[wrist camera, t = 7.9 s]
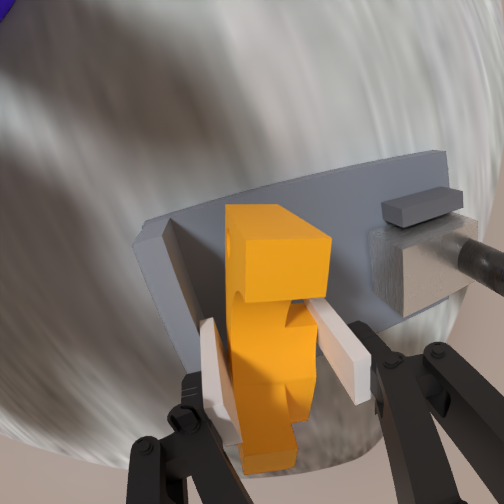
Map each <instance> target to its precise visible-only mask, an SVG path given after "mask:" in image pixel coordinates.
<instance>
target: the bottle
mask: <svg viewBox="0 0 504 504" xmlns="http://www.w3.org/2000/svg"><path fill="white" fill-rule="evenodd" d="M14 1H15V0H0V21H1V20H2V19H3V18H4V16H5V15H6V14H7V12H8V11H9V10H10V8H11V6H12V5H13V3H14Z"/></svg>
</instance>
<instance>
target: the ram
mask: <svg viewBox="0 0 504 504" xmlns="http://www.w3.org/2000/svg"><path fill="white" fill-rule="evenodd" d="M477 239H478V221H477V220H474V219H472V218H469V217H466V216H463V215H460V214H457V213H454V212H449V213H446V214H443V215H440V216H437V217H434V218H431V219H428V220H425V221H422V222H419V223H416V224H413V225H410V226H407V227H404V228H402V227H400V226H398V225H395V224H390V225H387V226H384V227H381V228H377V229H374V230H371V231H368V240H369V249H370V260H371V272H372V286H373V292H374V293H375V294H376V295H378V296H379V297H380V298H381V299H382V300H383V301H385V302H386V303H387V304H388V305H389V306H390V307H392V308H393V309H394V310H395V311H396V312H397V313H398V314H400V315H401V316H402V317H403V318H404V317H406V316H408V315H410V314H412V313H415V312H417V311H419V310H421V309H423V308H425V307H427V306H429V305H431V304H433V303H435V302H437V301H439V300H441V299H443V298H445V297H447V296H449V295H450V294H452V293H454V292H456V291H458V290H460V289H462V288H463V287H465V286H467V285H469V284H471V283H472V282H474V281H475V280H476V281H478V282H479V283H481V284H483V285H485V286H486V287H488V288H490V289H491V290H493V291H495V292H496V293H498V294H500V295H501V296H503V297H504V253H503V252H501V251H499V250H497V249H494V248H492V247H490V246H487V245H485V244H483V243H481V242H478V241H477Z"/></svg>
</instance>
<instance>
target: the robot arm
mask: <svg viewBox="0 0 504 504" xmlns="http://www.w3.org/2000/svg"><path fill="white" fill-rule="evenodd" d="M303 300H304V305H305V306H306V308H307V309H308V311H309V312H310V314H311V315H312V317H313V318H314V319H315V321H316V322H317V324H318V330H317V338H316V342H317V344H318V345H319V347H320V349H321V350H322V352H323V353H324V355H325V357H326V358H327V360H328V362H329V363H330V365H331V367H332V368H333V370H334V371H335V373H336V375H337V376H338V378H339V380H340V381H341V383H342V385H343V386H344V388H345V390H346V391H347V393H348V394H349V396H350V398H351V399H352V401H353V403H354V404H355V406H356V405H358V404H360V403H363V402H365V401H367V400H370V399H371V392H372V393H373V395H374V396H375V415H376V414H377V413H378V417H379V420H380V424H381V428H382V432H383V436H384V440H385V444H386V449H387V453H388V457H389V461H390V466H391V471H392V476H393V480H394V485H395V490H396V495H397V501H398V504H468V503H467V502H466V501H463V500H461V498H460V496H459V493H458V490H457V487H456V483H455V480H454V477H453V474H452V471H451V468H450V465H449V462H448V459H447V456H446V453H445V451H444V448H443V445H442V442H441V440H440V437H439V434H438V432H437V429H436V426H435V424H434V421H433V419H432V416H431V414H432V415H433V416H434V418H435V419H436V420H437V421H438V423H439V424H440V425H441V426H442V428H443V429H444V430H445V432H446V433H447V434H448V436H449V437H450V438H451V439H452V441H453V442H454V443H455V445H456V446H457V447H458V449H459V450H460V451H461V452H462V454H463V455H464V457H465V458H466V459H467V461H468V462H469V463H470V465H471V466H472V467H473V468H474V470H475V471H476V473H477V474H478V475H479V477H480V478H481V480H482V481H483V482H484V484H485V485H486V486H487V488H488V489H489V491H490V492H491V493H492V495H493V496H494V498H495V499H496V500H497V502H498V503H499V504H504V397H503V396H502V395H501V394H500V393H499V392H498V391H497V390H496V389H495V388H494V387H493V386H492V385H491V384H490V383H489V382H488V381H487V380H486V379H485V378H484V377H483V376H482V375H480V373H479V372H478V371H477V370H476V369H474V368H473V367H472V366H471V365H470V364H469V363H468V362H467V361H466V360H465V359H464V358H463V357H462V356H460V355H459V354H458V353H457V352H456V351H455V350H454V349H453V348H452V347H451V346H449V345H447V344H446V343H443V342H433V343H431V344H429V345H427V346H426V347H425V349H424V353H423V354H420V355H415V356H409V357H405V356H404V355H403V354H401V353H399V352H394V351H393V352H392V351H391V350H390V348H389V347H388V346H387V345H386V344H385V343H384V342H383V341H382V340H381V339H380V338H379V336H378V335H376V333H375V332H374V331H372V329H371V328H370V327H369V326H368V325H367V324H366V323H364V322H361V321H359V320H358V321H355V322H352V323H350V324H347V325H346V324H345V323H344V321H343V320H342V319H341V318H340V316H339V315H338V314H337V313H336V312H335V310H334V309H333V308H332V307H331V306H330V304H329V303H328V302H327V301H326V300H325V298H324V297H320V298H308V299H303ZM200 347H201V371H198V372H194V373H189V374H186V375H185V377H184V379H183V381H182V400H181V404H179V405H177V406H175V407H174V408H173V409H172V410H171V411H170V412H169V414H168V416H167V421H168V423H169V424H170V425H171V427H172V428H173V430H174V431H175V432H174V433H172V434H171V435H169V436H167V437H165V438H162V439H160V440H158V439H157V438H155V437H152V436H145V437H141V438H140V439H138V440H137V441H135V443H134V444H133V445H132V448H131V454H130V463H129V473H128V484H127V497H126V504H188V491H187V477H188V476H192V479H193V481H194V484H195V486H196V489H197V491H198V493H199V496H200V498H201V500H202V503H203V504H254V503H253V501H252V500H251V498H250V496H249V494H248V493H247V491H246V489H245V488H244V486H243V484H242V482H241V481H240V479H239V477H238V475H237V473H236V471H235V469H234V468H233V466H232V464H231V462H230V460H229V458H228V456H227V454H226V453H225V451H224V450H223V443H224V445H225V446H230V445H235V444H239V443H243V442H242V436H241V431H240V426H239V421H238V415H237V410H236V404H235V399H234V393H233V388H232V382H231V376H230V370H229V364H228V358H227V354H226V351H225V348H224V346H223V343H222V340H221V338H220V335H219V332H218V330H217V327H216V324H215V322H214V319H213V317H212V318H208V319H205V320H201V321H200ZM430 412H431V414H430ZM222 442H223V443H222Z"/></svg>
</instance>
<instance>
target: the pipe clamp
mask: <svg viewBox="0 0 504 504" xmlns="http://www.w3.org/2000/svg"><path fill="white" fill-rule="evenodd" d="M331 243H332V238H331V237H330V236H328V235H326V234H325V233H323V232H322V231H320V230H319V229H317V228H315V227H314V226H312V225H311V224H309V223H307V222H306V221H304V220H303V219H301V218H299V217H298V216H296V215H295V214H293V213H291V212H290V211H288V210H287V209H285V208H283V207H282V206H280V205H278V204H226V205H225V267H226V328H227V358H228V364H229V370H230V376H231V382H232V388H233V393H234V399H235V404H236V410H237V415H238V421H239V426H240V431H241V436H242V442H243V443H239V444H238V449H239V454H240V459H241V464H242V468H243V473H244V475H249V474H257V473H264V472H271V471H277V470H283V469H289V468H294V465H295V461H296V457H297V453H298V445H297V442H296V439H295V436H294V433H293V429H292V425H291V423H297V422H303V421H308V418H309V413H310V408H311V404H312V399H313V394H314V389H315V384H316V379H317V378H316V338H317V330H318V324H317V322H316V321H315V319H314V318H313V317H312V315H311V314H310V312H309V311H308V309H307V308H306V306H305V305H304V303H295V304H291V301H292V300H296V299H308V298H320V297H326V289H327V281H328V272H329V263H330V253H331Z"/></svg>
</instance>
